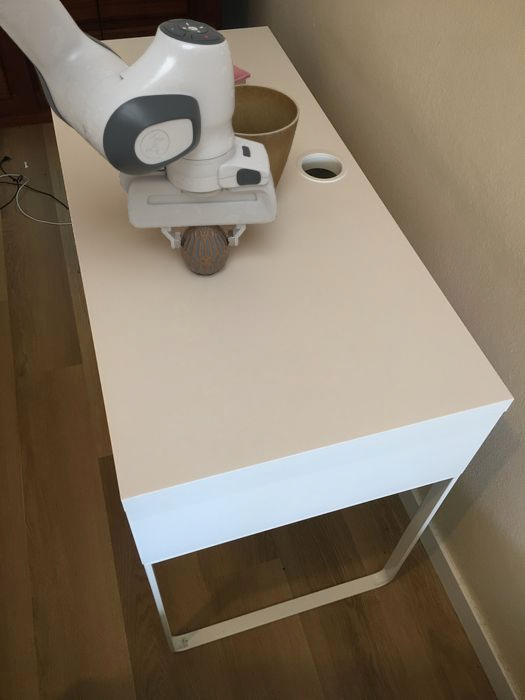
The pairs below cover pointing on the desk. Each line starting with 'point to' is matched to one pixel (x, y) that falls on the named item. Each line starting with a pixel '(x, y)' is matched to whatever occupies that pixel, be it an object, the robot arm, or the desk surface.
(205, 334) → the desk surface
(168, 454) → the desk surface
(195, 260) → the vase
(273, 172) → the plant pot
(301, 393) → the desk surface
